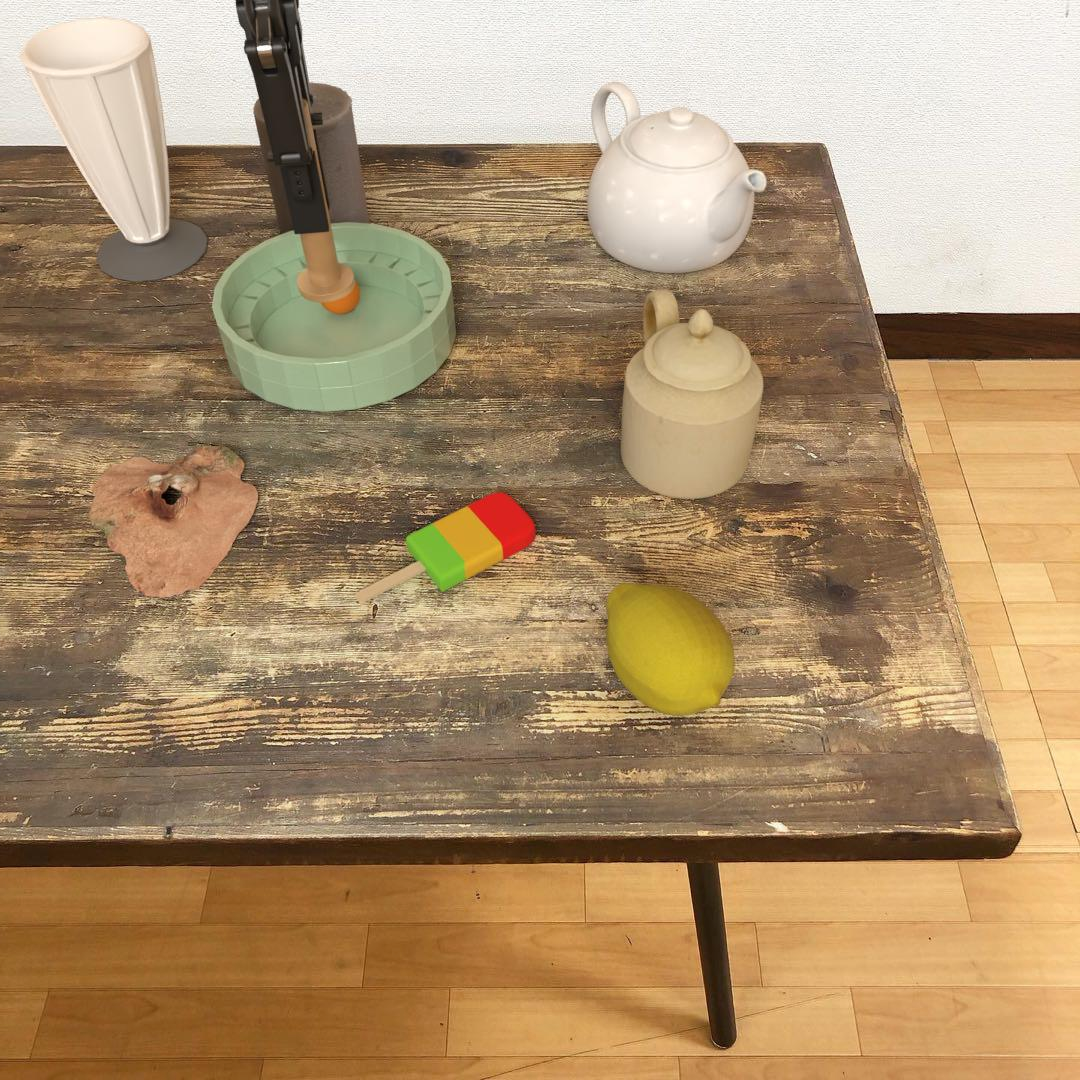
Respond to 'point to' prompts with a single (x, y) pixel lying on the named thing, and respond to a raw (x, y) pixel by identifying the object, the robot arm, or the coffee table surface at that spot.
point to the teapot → (668, 188)
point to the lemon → (668, 648)
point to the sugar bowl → (688, 404)
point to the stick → (322, 255)
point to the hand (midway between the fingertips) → (312, 218)
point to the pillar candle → (325, 159)
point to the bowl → (337, 320)
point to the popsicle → (463, 544)
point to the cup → (115, 139)
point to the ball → (344, 302)
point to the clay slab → (173, 517)
